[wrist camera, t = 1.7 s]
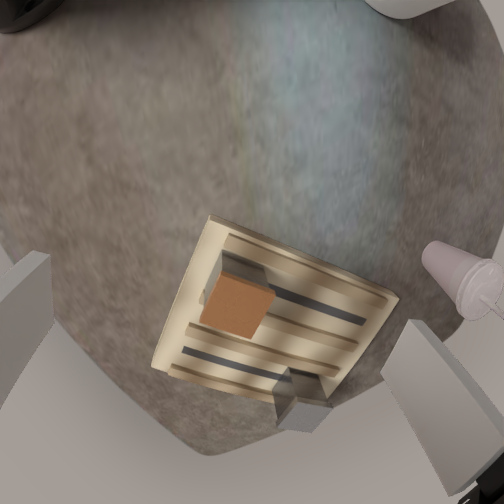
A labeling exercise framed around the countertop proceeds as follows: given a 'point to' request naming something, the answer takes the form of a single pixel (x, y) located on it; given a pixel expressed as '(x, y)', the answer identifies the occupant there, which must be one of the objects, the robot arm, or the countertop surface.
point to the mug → (405, 7)
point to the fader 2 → (300, 400)
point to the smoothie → (465, 279)
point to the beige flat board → (271, 319)
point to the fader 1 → (236, 295)
